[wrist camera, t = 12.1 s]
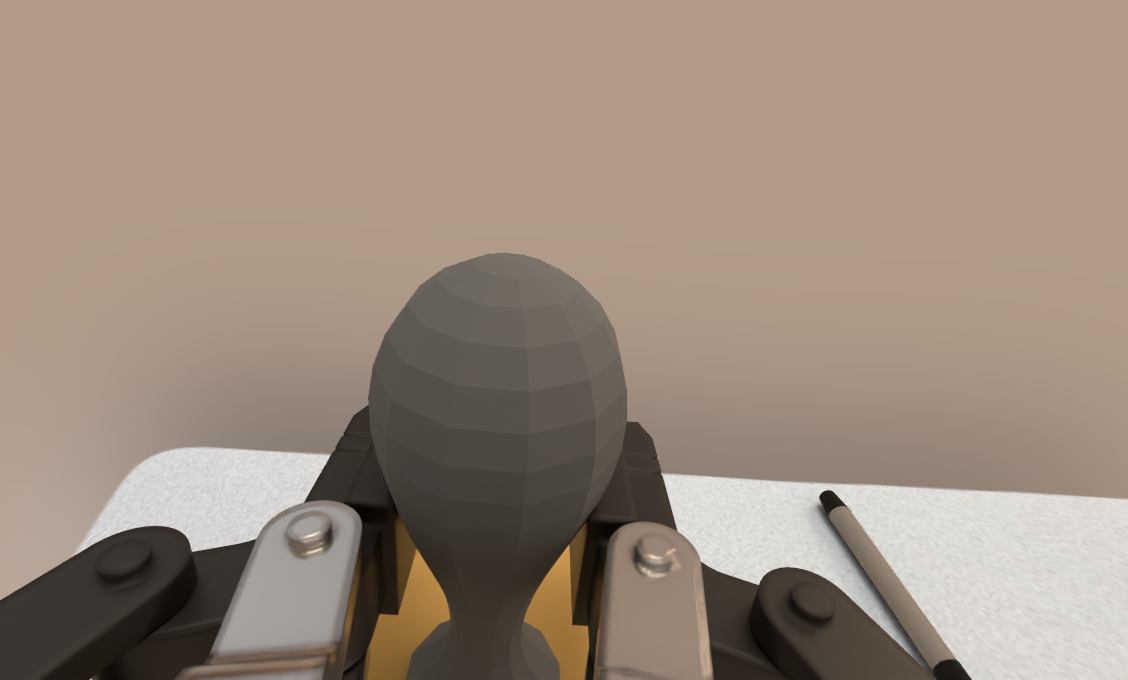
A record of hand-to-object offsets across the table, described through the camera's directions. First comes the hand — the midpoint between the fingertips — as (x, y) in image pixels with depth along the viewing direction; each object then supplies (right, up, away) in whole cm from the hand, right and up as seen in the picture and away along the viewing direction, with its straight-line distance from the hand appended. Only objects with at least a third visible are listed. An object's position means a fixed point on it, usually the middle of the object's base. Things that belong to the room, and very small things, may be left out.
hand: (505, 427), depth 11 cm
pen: (+17, -12, +15) cm, 26 cm away
